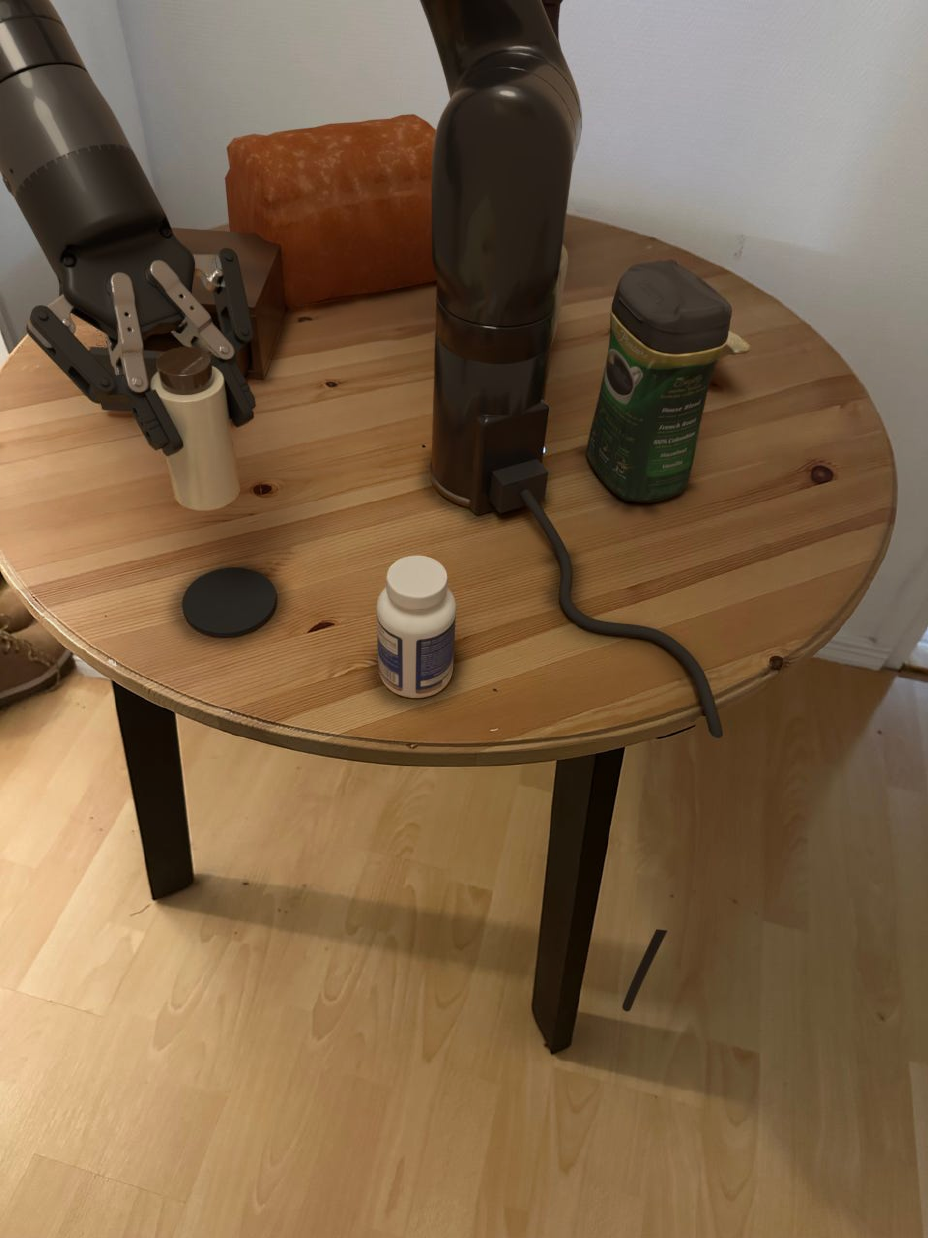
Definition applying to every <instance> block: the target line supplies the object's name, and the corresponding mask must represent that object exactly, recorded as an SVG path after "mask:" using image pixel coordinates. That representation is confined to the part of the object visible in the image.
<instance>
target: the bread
mask: <svg viewBox="0 0 928 1238" xmlns="http://www.w3.org/2000/svg"><path fill="white" fill-rule="evenodd" d="M436 129H437V128H434V127H433V126H432V124H430V123H429V122H428V121H426V120H425V119H423V118H421V117H420V116H419V115H417V114H414V113H410V114H409V113H408V114H401V115H397V116H394V117H390V118H379V119H369V120H368V119H367V120H362V121H352V122H337V123H336V122H335V123H327V124H322V125H319V126H315V127H304V128H303V127H302V128H294V129H287V130H282V131H275V132H272V133H269V134H267V135H266V134H265V135H264V134H260V133H259V134H258V133H250V134H247V135H241V136H237V137H234V138H233V139H232V140H231V141H230V142H229V144H228V145H227V146H226V153H227V159H228V166H229V169H228V171H227V172H226V175H225V177H224V181H225V182H224V183H225V195H226V205H227V207H226V208H227V217H228V228H229V232H241V233H255V234H258V235H259V236H260V237H261V238H263V239H265V240H266V241H269V242H272V243H276V244H281V257H282V269H283V282H284V294H285V301H286V305H287V308H289V309H290V308H295V307H303V306H309V305H316V304H322V303H323V304H324V303H327V302H332V301H338V300H342V299H346V298H352V297H356V296H362V295H369V294H372V293H373V294H374V293H379V292H384V291H389V290H397V289H400V288H406V287H411V286H412V287H413V286H417V285H423V284H429V283H433V282H437V276H436V273H435V270H434V267H433V262H432V220H431V216H432V156H433V146H434V138H435V133H436Z"/></svg>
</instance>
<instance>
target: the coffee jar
mask: <svg viewBox="0 0 928 1238" xmlns="http://www.w3.org/2000/svg"><path fill="white" fill-rule="evenodd" d="M732 312H733V307H732V305H731V304H730V302H729V301H728V300H727V299H726V297H723V296H722V295H721V294H720V293H719V292H718V291H717V290H716V289H715V288H714V287H712V286H711V285H710V284H709V283H707V282H706V281H705V280H704V279H703V278H702V277H700V276H699V275H698V274H696V273H694V272H693V271H691V270H689V269H688V268H686V267H684V266H682V265H680V264H678V262H677V261H676V260H674V259H668V260H655V261H649V262H643V263H637V264H633V265H631V266H630V267H629V268H628V269H627V270H626V271H625V272H623V274H622V275H621V276H620V279H619V281H618V283H617V286H616V289H615V293H614V296H613V300H612V303H611V308H610V315H609V341H608V350H607V356H606V360H605V361H606V362H605V366H604V371H603V376H602V381H601V385H600V390H599V393H598V398H597V403H596V406H595V411H594V414H593V419H592V422H591V428H590V431H589V436H588V441H587V446H586V457H587V460H588V462H589V464H590V466H591V467H592V469H593V471H594V472H595V474H596V475H597V476H598V477H599V479H600V481H601V482H602V483H603V484H604V485H605V486H606V487H607V488H608V489H609V490H610V491H611V492H612V494H614V495H615V496H616V497H618V498H620V499H621V500H624V501H628V502H635V503H656V502H661V501H664V500H668V499H670V498H673V497H675V496H677V495H679V494H681V493H682V492H683V491H684V490H685V489H686V488H687V486H688V484H689V481H690V476H691V472H692V468H693V464H694V459H695V455H696V448H697V444H698V440H699V439H698V438H699V433H700V427H701V423H702V418H703V415H704V409H705V405H706V400H707V395H708V392H709V387H710V383H711V379H712V377H713V373H714V369H715V367H716V364H717V362H718V361H719V360H718V358H719V357H720V355H721V354H722V352H723V350H724V348H725V346H726V343H727V338H728V333H729V331H730V326H731V318H732V314H733V313H732Z"/></svg>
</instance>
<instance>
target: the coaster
mask: <svg viewBox="0 0 928 1238" xmlns="http://www.w3.org/2000/svg"><path fill="white" fill-rule="evenodd" d="M277 599H278V598H277V592H276V589H275V586H274V584H273V582H272V581H271V580H270V579H269V578H268V577H267V576H265V575H264V574H263V573H261V572H260V571H257V570H254V569H251V568H247V567H240V566H231V567H229V566H228V567H222V568H218V569H215V570H211V571H209V572H207V573H204V574H203V575H200V576H199V577H198V578H196V579H195V580H194V581H192V583H190V584H189V586H188V587H187V588H186V590H185V592H184V593H183V596H182V601H181V606H182V607H181V608H182V609H181V610H182V613H183V617H184V618H185V620H186V622H187V624H188V625H189V626H190V627H191V628H193V629H194V630H195V631H197V632H198V633H200V634H202V635H205V636H208V637H212V638H219V639H229V638H236V637H237V638H238V637H241V636H245V635H248V634H250V633H252V632H255V631H257V630H259V629H260V628H261V627H263V626H264V625H266V623H267V622H268V621H269V620H270V619H271V618H272V616H273V614H274V613H275V610H276V608H277V603H278V602H277V601H278V600H277Z"/></svg>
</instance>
